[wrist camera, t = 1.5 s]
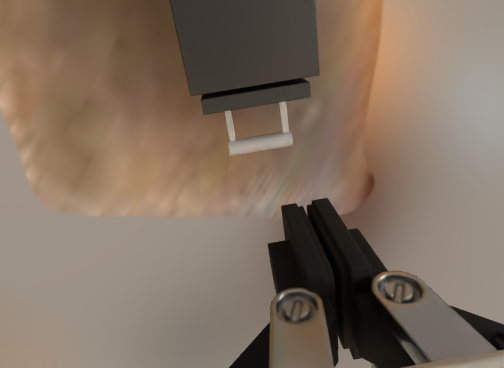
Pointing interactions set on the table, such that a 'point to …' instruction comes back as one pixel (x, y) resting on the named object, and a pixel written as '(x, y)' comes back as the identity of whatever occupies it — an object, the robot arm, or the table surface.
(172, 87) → the table surface
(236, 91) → the drawer
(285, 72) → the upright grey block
